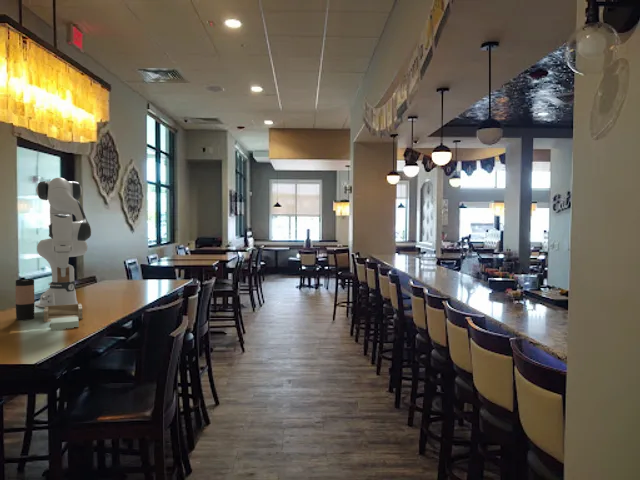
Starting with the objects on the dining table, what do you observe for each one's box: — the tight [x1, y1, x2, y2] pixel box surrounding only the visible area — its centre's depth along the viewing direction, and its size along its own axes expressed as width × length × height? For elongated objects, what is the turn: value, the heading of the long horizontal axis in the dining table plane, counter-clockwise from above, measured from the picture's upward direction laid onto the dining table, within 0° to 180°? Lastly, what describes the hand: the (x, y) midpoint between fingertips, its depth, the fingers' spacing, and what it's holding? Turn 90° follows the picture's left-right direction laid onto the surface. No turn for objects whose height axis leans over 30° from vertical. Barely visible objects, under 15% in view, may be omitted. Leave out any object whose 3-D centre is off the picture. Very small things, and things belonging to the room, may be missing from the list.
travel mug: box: [15, 278, 36, 321], centre depth 213 cm, size 8×8×20 cm
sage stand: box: [50, 317, 80, 331], centre depth 203 cm, size 11×11×3 cm
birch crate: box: [43, 302, 83, 323], centre depth 218 cm, size 16×16×6 cm
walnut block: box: [57, 267, 70, 282], centre depth 212 cm, size 5×5×7 cm
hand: (63, 276), depth 212 cm, fingers closed on walnut block, 5 cm apart
